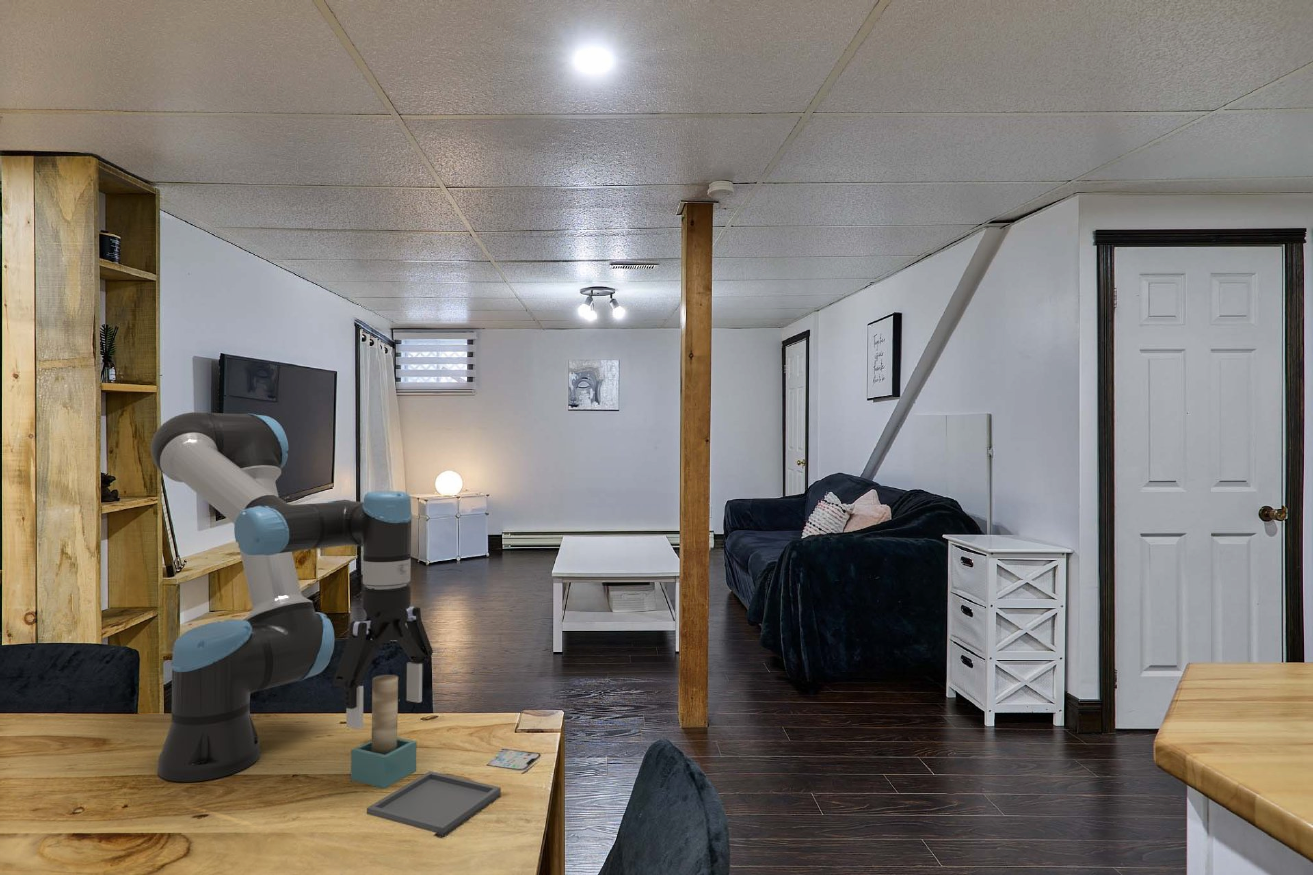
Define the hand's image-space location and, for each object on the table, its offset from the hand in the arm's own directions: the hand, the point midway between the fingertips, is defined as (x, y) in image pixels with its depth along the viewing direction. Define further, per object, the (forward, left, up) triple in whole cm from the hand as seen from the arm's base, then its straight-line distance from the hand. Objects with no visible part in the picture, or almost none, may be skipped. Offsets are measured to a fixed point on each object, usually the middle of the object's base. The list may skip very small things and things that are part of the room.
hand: (385, 713), depth 126 cm
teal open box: (0, 0, -11) cm, 11 cm away
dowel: (0, 0, -10) cm, 10 cm away
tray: (+14, -4, -11) cm, 18 cm away
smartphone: (+12, +14, -11) cm, 22 cm away
